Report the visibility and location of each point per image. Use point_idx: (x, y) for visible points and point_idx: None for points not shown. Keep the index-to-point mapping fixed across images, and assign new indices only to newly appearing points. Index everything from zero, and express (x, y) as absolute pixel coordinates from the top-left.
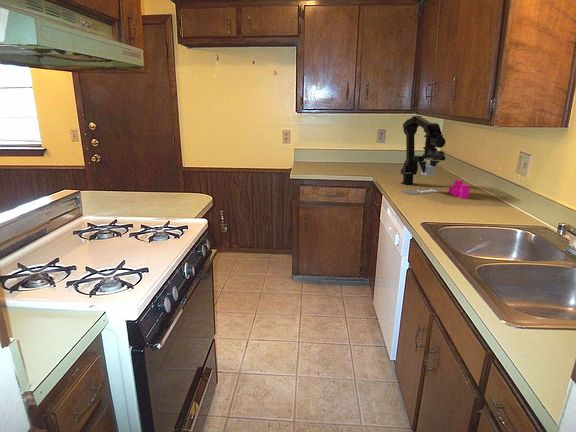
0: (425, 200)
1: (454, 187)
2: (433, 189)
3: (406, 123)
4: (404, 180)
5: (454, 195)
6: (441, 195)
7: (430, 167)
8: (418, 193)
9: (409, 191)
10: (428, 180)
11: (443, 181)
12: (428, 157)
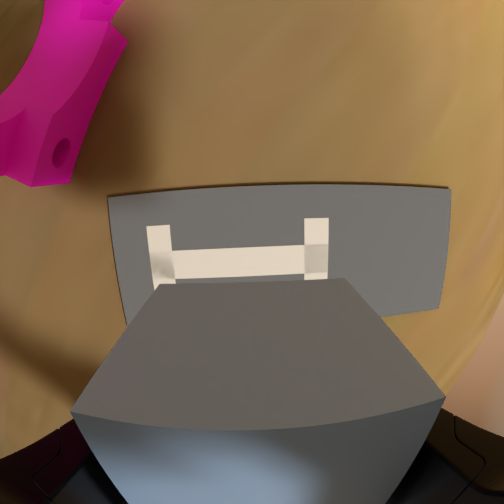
0: (425, 15)
1: (42, 104)
2: (140, 297)
3: None
4: None
5: (121, 38)
6: (207, 76)
7: (275, 402)
8: (379, 187)
9: (399, 277)
10: None
11: (20, 430)
12: None
